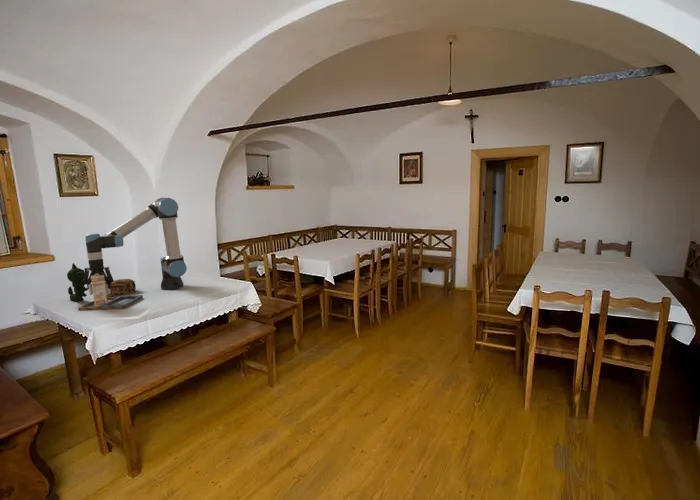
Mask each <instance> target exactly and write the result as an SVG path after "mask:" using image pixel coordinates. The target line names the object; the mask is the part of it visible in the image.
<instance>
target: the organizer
mask: <svg viewBox="0 0 700 500" xmlns="http://www.w3.org/2000/svg"><path fill="white" fill-rule="evenodd" d="M143 296H144V295H143V294H142V295H141V294H140V295H139V294H137V295H135V294H134V295H119V296H111V297H107V298H108V303H106V304H104V305H102V306H100V307H95V306H92V305H94V300H93V301H90V302H88V303H86V304H84V305H82V306H79V307H78V308H77V309H78V311H98V310H103V311H104V310H125V309H127V308H129V307H130V306H132V305H134V304H135V303H137V302H139V301H141V300H142V299H143V298H144V297H143Z"/></svg>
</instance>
